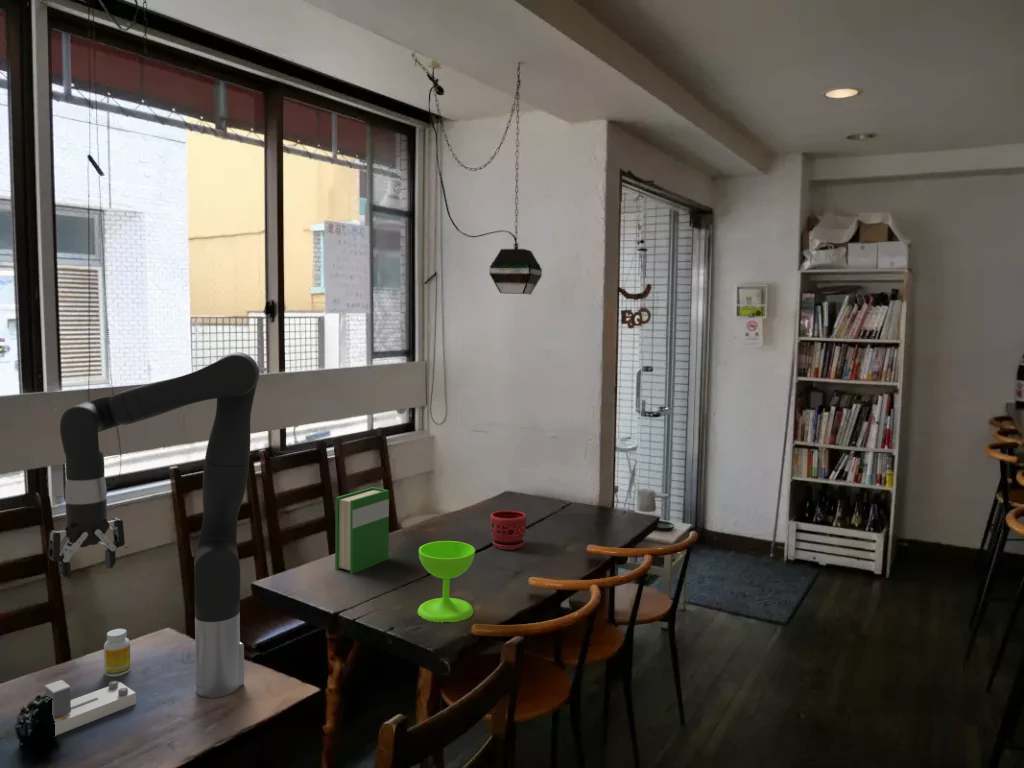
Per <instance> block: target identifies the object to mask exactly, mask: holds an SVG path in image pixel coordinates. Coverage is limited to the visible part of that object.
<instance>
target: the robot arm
mask: <svg viewBox="0 0 1024 768" xmlns="http://www.w3.org/2000/svg"><path fill="white" fill-rule="evenodd" d="M259 378H260V369H259V366H258V364H257V362H256V361H255V359H254V358H253V357H251V356H250V355H249V354H247V353H243V352H237V351H236V352H231V353H228V354H226V355H224V356H222V357H220V358H219V359H218V360H217V361H215V362H212V363H211V364H209V365H206V366H204V367H203V368H200V369H198V370H195V371H193V372H189V373H187V374H184V375H181V376H177V377H173V378H168V379H164V380H160V381H154V382H150V383H146V384H143V385H140V386H136V387H132V388H129V389H126V390H123V391H120V392H117V393H114V394H113V395H109V396H104V397H100V398H96V399H91V400H87V401H83V402H81V403H78V404H76V405H73V406H71V407H69V408H68V409H67V410H65V411H64V412H63V413H62V415H61V418H60V425H59V432H60V438H61V443H62V444H61V445H62V448H63V452H64V455H65V488H64V491H65V492H64V493H65V494H64V495H65V496H64V497H65V498H64V499H65V500H64V501H65V502H64V503H65V521H66V522H65V523H66V526H65V529H62V530H57V531H56V530H50V531H49V533H48V554H47V555H48V556H47V557H48V558H49V560H51V561H53V562H56V563H57V562H59V575H60V576H61V577H62V578H64V579H65V580H70V579H71V577H72V573H71V572H72V571H71V570H72V569H71V565H72V564H71V561H70V560H71V558H72V556H73V555H74V554H75V553H77V551H78V549H80V548H86V547H89V546H96V545H98V544H99V543H100V544H101V545H102V546H103V547H104V548H105V550H104V561H105V562H104V564H105V568H107V569H113V568H114V565H116V561H117V560H116V559H117V556H116V555H117V554H116V551H117V549H118V548H120V547H123V546H125V545H126V543H125V542H126V541H125V529H124V522H123V520H122V519H120V518H118V517H113V518H112V520H111V519H110V520H108V519H107V517H108V504H107V495H108V491H107V484H106V483H107V482H106V479H105V478H106V475H105V457H104V453H103V451H102V450H101V449H100V443H99V442H100V441H99V433H100V432H103V431H106V430H109V429H112V428H115V427H118V426H125V425H131V424H134V423H135V424H136V423H138V422H140V421H145V420H148V419H150V418H154V417H157V416H159V415H163V414H165V413H168V412H172V411H174V410H177V409H180V408H184V407H186V406H188V405H192V404H197V403H200V402H203V401H209V400H213V399H216V408H215V409H216V411H215V416H214V420H213V424H212V428H211V430H210V434H209V438H208V442H207V447H206V451H205V457H204V465H203V475H202V512H203V513H202V514H203V515H202V523H201V527H200V533H199V537H198V542H197V546H196V550H195V553H194V559H193V566H194V569H193V572H194V578H193V579H194V627H195V628H194V631H195V632H194V633H195V634H194V635H195V637H194V638H195V639H194V640H195V641H194V642H195V686H196V687H195V691H196V694H198V696H201V697H203V698H213V699H214V698H222V697H226V696H228V695H230V694H233V693H235V692H236V691H238V689H239V688H240V687H241V686H243V685H244V684H245V645H244V643H243V642H242V641H241V636H240V635H241V632H240V630H241V629H240V628H241V627H240V625H241V623H240V620H241V619H240V618H241V617H240V616H241V615H240V610H241V609H240V605H241V603H240V602H241V563H240V558H239V552H238V542H237V540H238V538H237V537H238V536H237V535H238V518H239V513H240V509H241V506H242V504H243V501H244V497H245V494H246V488H247V483H248V479H249V469H250V459H251V458H250V456H251V418H252V409H253V403H254V398H255V393H256V389H257V385H258V382H259ZM108 529H111V530H112V534H113V541H111V540H110V539H109V538H108V537H107V535H106V533H107V532H108ZM65 537H66V538H67V541H66V542H65V544H64V545H63V549H62V550H61V542H62V541H63V539H64V538H65Z"/></svg>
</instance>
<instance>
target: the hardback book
mask: <svg viewBox="0 0 1024 768" xmlns="http://www.w3.org/2000/svg"><path fill="white" fill-rule="evenodd" d="M334 512H335V515H334V517H335V518H334V519H335V520H334V521H335V523H334V525H335V526H334V527H335V529H334V530H335V531H334V532H335V537H334V538H335V539H334V542H335V543H334V544H335V545H334V546H335V548H334V549H335V550H334V551H335V553H334V554H335V555H334V557H335V558H334V565H335V566H334V570H337V571H338V570H342V569H343V570H346V571H349V574H350V575H354V574H355V573H358V572H360V571H363V570H365V569H368V568H371V567H372V566H375V565H377V564H380V563H382V562H384V561H388V560H389V534H390V531H389V529H390V528H389V527H390V525H389V524H390V523H389V522H390V520H389V519H390V518H389V517H390V513H389V512H390V489H386V488H385V489H384V488H380V487H375V486H374V487H373V486H371V487H368V488H363V489H360V490H357V491H353V492H350V493H347V494H343V495H340V496H336V497H335V510H334Z"/></svg>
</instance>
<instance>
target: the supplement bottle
mask: <svg viewBox="0 0 1024 768" xmlns="http://www.w3.org/2000/svg"><path fill="white" fill-rule="evenodd" d="M127 635H128V633H127V629H125V628H116V629H111V630H110V631H108V632H106V641H105V643H104V645H103V667H104V668H103V670H104V675H105V676H107V677H113V678H114V677H115V678H116V677H117V678H118V677H120V676H123V675H125V674H127V673H129V671H131V641H130V639H129V637H127Z"/></svg>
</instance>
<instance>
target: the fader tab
mask: <svg viewBox="0 0 1024 768" xmlns="http://www.w3.org/2000/svg"><path fill="white" fill-rule="evenodd" d="M44 687H45V697H46V696H49V697H51V698H52V699H53V700H52V715H53V718H57V717H60V716H63V715H65V714H68V713H70V712H71V702H70V700H71V686H70V685H69V684H68V683H67V682H65V681H64V680H63V679H60V680H57V681H54V682H51V683H48V684H45V685H44Z"/></svg>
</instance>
